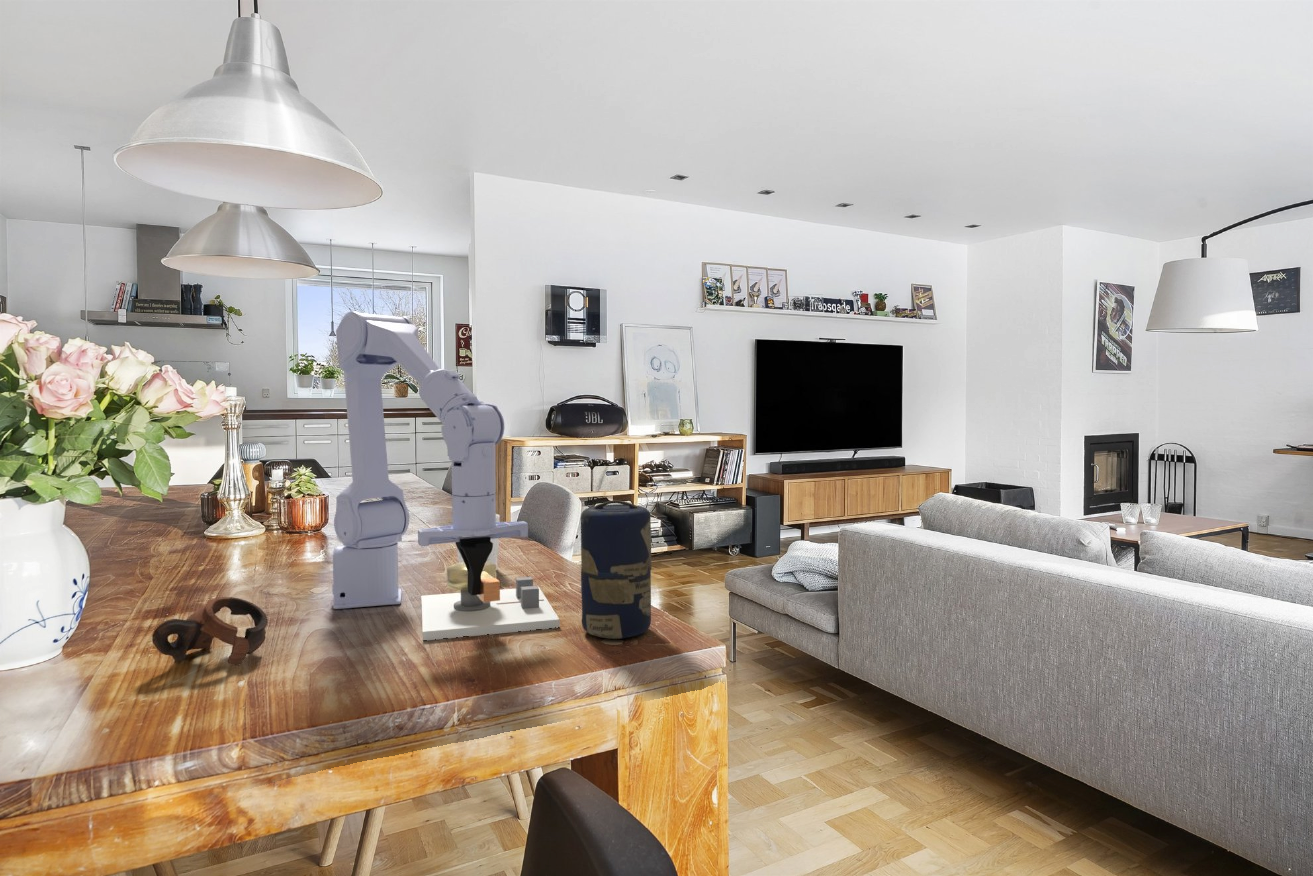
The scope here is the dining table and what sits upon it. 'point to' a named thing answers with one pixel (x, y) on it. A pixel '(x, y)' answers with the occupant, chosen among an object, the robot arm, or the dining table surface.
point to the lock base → (487, 612)
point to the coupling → (489, 583)
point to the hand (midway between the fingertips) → (475, 593)
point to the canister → (616, 570)
